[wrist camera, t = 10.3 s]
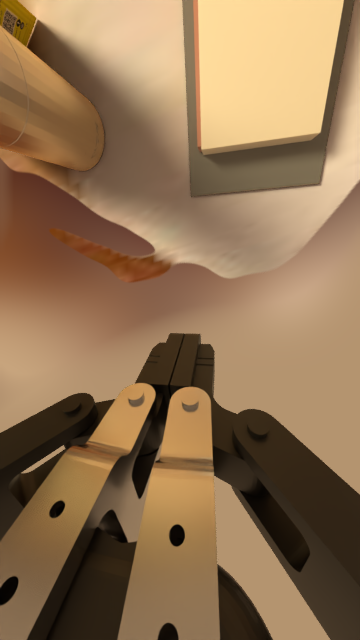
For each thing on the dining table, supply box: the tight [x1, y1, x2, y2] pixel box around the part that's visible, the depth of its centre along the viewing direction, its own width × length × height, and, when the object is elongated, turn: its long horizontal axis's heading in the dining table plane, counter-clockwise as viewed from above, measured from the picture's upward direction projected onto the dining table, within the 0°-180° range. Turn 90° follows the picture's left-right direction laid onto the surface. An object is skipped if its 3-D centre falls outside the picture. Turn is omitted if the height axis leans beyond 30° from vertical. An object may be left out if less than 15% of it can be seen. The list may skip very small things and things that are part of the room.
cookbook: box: [193, 0, 344, 155], centre depth 23 cm, size 3×14×20 cm
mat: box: [182, 0, 354, 197], centre depth 25 cm, size 27×18×1 cm, turn 4°
